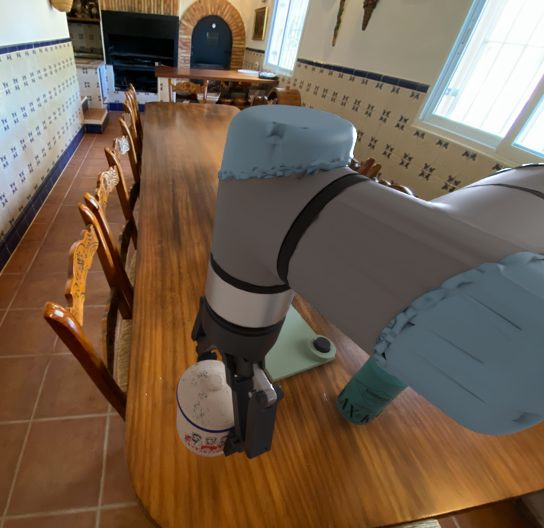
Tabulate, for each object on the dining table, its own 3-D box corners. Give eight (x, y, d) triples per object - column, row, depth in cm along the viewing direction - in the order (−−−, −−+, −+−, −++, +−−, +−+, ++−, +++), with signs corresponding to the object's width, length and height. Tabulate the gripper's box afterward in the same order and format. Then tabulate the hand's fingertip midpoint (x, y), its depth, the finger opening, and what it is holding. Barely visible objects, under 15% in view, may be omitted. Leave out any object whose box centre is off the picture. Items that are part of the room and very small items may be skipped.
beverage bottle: (329, 391, 59) (376, 328, 46) (364, 399, 58) (421, 337, 45) (334, 425, 54) (389, 365, 41) (373, 434, 53) (440, 376, 40)
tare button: (331, 350, 63) (333, 346, 62) (320, 354, 62) (322, 350, 61) (321, 339, 65) (324, 335, 64) (310, 343, 64) (313, 338, 63)
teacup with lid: (176, 463, 38) (180, 423, 30) (172, 394, 45) (174, 348, 38) (267, 454, 39) (290, 414, 32) (249, 389, 46) (265, 343, 39)
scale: (336, 361, 64) (342, 353, 62) (273, 385, 59) (276, 377, 57) (282, 296, 79) (285, 288, 77) (227, 311, 73) (229, 302, 71)
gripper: (372, 395, 20) (286, 491, 34) (228, 229, 36) (209, 343, 50) (281, 436, 18) (228, 521, 32) (169, 239, 33) (167, 355, 47)
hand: (217, 412), depth 41 cm, fingers closed on teacup with lid, 9 cm apart
